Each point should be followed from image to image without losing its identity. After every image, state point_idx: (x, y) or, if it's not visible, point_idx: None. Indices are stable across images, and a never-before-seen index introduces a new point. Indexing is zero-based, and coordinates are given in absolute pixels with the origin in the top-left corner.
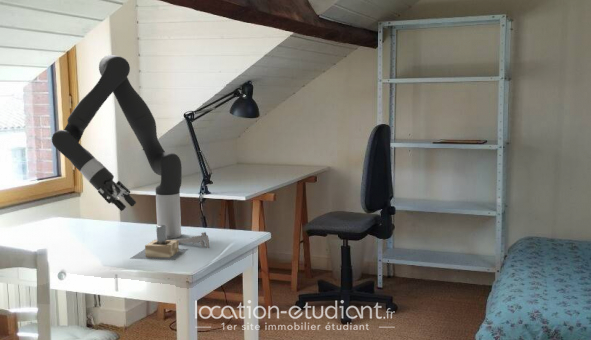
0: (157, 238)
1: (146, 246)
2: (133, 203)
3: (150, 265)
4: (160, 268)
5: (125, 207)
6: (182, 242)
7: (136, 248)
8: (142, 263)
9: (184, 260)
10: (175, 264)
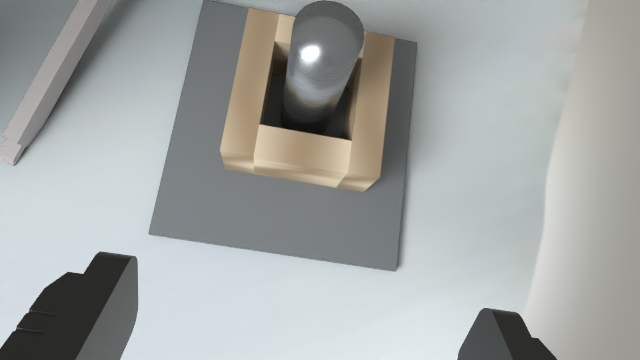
0: (336, 98)
1: (379, 170)
2: (131, 288)
3: (487, 141)
4: (528, 88)
5: (491, 310)
6: (92, 34)
7: None
8: (456, 187)
9: (397, 6)
10: (463, 35)
